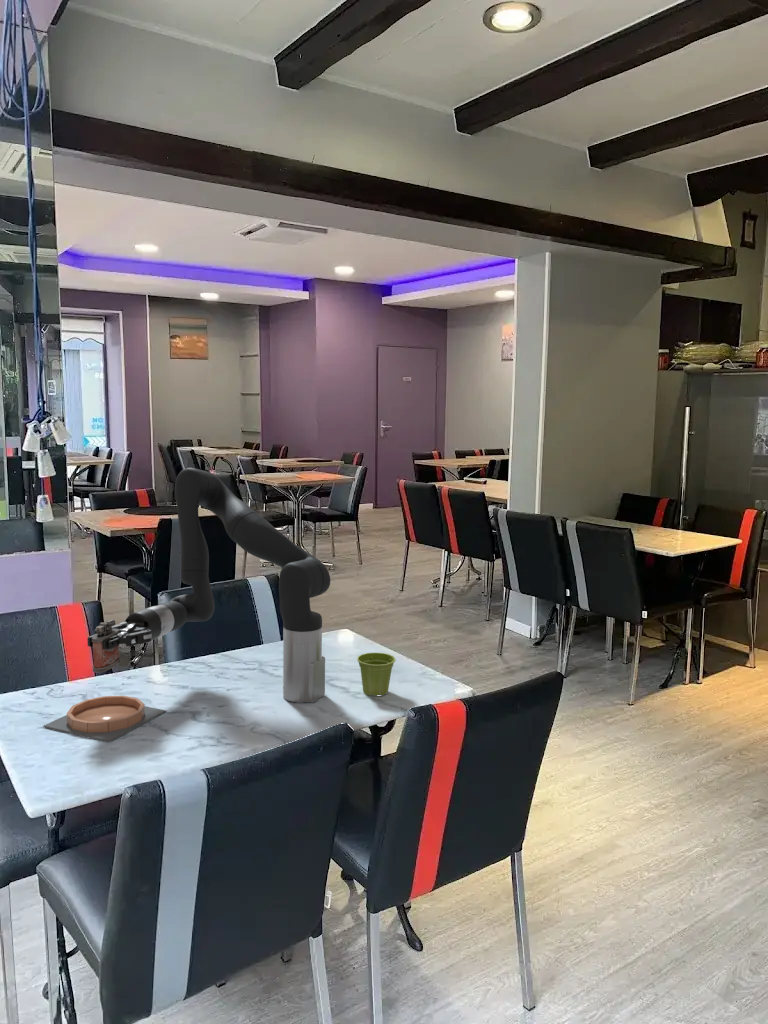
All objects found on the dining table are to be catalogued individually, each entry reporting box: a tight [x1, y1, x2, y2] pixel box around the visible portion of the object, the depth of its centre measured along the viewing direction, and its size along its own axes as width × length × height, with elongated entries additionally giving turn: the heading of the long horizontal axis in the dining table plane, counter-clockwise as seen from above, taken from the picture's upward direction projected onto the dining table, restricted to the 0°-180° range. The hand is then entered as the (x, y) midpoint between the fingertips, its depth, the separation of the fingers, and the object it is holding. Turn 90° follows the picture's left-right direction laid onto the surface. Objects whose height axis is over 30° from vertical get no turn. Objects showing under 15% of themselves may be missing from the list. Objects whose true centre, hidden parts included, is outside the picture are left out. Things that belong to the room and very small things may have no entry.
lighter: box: [92, 619, 121, 673], centre depth 168 cm, size 8×3×10 cm, turn 167°
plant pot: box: [356, 652, 397, 697], centre depth 188 cm, size 9×9×9 cm
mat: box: [43, 705, 167, 743], centre depth 169 cm, size 18×18×1 cm
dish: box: [66, 695, 146, 733], centre depth 169 cm, size 16×16×2 cm
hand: (96, 643), depth 165 cm, fingers closed on lighter, 3 cm apart
